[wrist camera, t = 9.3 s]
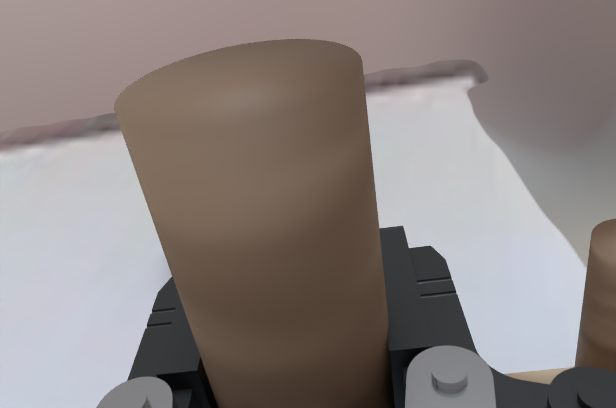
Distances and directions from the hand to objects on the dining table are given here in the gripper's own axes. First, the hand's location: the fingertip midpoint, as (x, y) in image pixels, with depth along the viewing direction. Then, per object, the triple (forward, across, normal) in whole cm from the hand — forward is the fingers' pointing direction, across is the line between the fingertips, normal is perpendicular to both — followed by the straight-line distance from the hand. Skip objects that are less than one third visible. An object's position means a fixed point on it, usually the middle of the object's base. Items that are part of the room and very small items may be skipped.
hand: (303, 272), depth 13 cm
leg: (-3, 0, +6) cm, 7 cm away
